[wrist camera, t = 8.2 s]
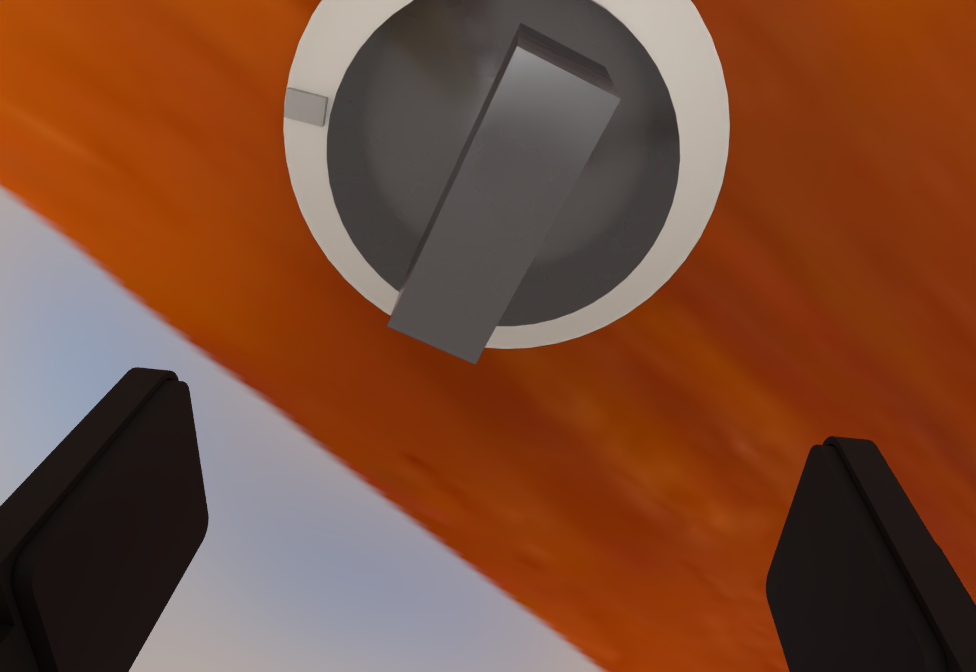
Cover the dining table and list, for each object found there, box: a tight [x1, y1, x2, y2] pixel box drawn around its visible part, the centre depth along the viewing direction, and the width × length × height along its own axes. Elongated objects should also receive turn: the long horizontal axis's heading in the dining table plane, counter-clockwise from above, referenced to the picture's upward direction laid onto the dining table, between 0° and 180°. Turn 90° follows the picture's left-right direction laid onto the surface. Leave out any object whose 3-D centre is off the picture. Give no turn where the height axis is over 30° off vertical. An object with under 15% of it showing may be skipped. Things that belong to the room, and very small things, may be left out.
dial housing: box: [283, 0, 730, 349], centre depth 28 cm, size 16×16×3 cm
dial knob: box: [327, 0, 680, 364], centre depth 24 cm, size 12×12×6 cm
